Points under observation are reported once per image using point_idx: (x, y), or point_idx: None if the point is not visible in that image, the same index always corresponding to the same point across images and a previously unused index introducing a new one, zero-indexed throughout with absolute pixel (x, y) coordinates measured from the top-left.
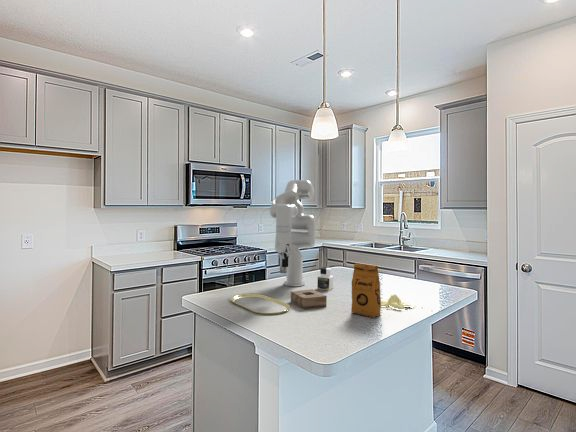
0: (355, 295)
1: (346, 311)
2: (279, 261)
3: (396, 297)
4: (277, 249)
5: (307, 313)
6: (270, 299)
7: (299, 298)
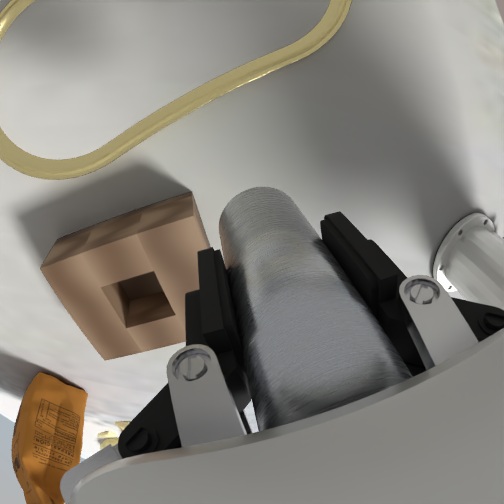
0: (20, 421)
1: (63, 364)
2: (345, 251)
3: None
4: (462, 427)
5: (9, 246)
6: (234, 78)
7: (84, 245)
